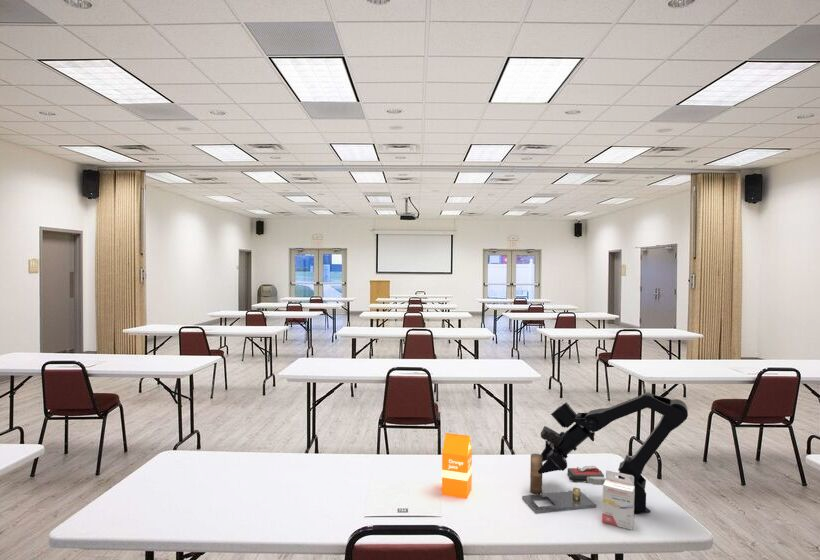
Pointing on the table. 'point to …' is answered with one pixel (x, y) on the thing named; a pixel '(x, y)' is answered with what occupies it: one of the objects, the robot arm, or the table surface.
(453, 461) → the orange juice
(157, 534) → the table surface
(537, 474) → the peg
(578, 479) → the red gray flat block
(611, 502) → the ink cartridge box
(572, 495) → the plate
